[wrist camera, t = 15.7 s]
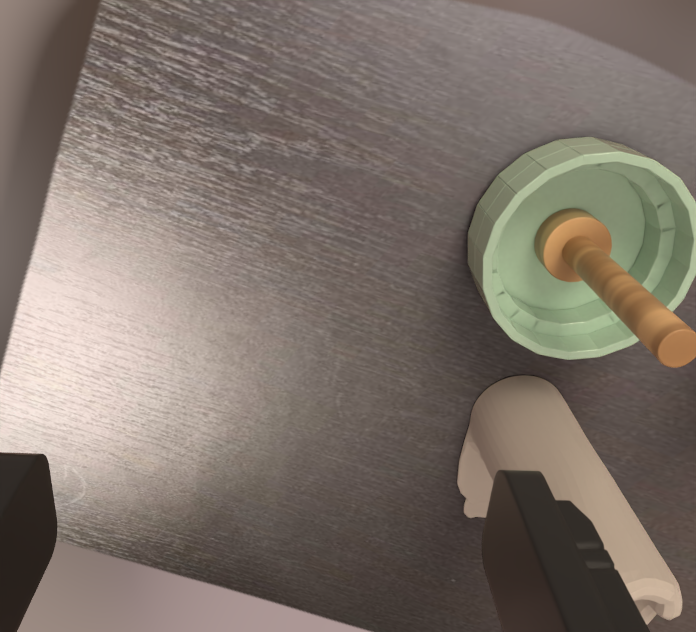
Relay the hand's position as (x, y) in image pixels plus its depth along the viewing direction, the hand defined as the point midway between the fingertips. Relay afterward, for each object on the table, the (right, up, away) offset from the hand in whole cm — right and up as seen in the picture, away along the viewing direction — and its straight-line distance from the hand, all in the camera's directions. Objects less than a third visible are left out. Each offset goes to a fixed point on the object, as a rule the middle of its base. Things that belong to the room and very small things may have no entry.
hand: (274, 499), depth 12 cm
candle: (+14, -7, +40) cm, 43 cm away
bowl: (+16, +9, +32) cm, 37 cm away
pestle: (+16, +8, +32) cm, 36 cm away
